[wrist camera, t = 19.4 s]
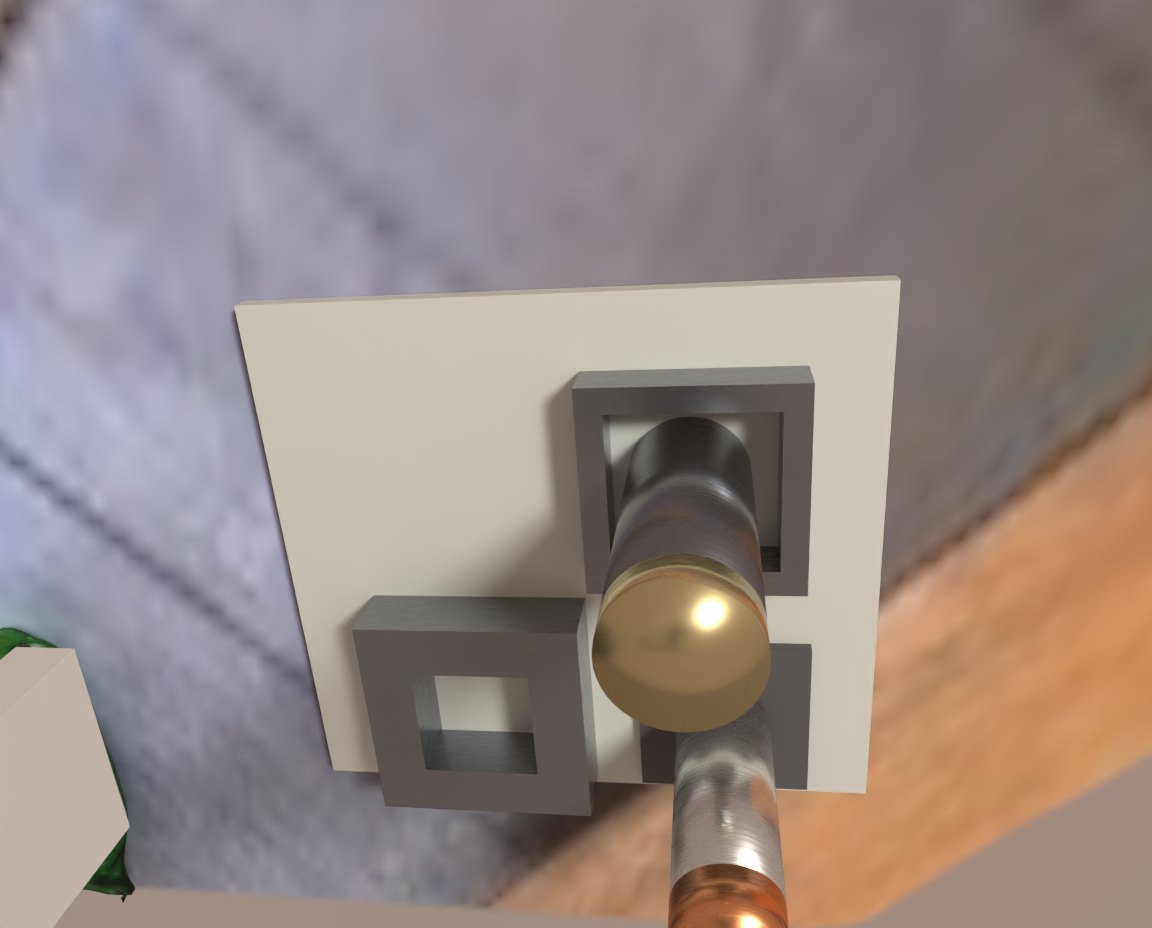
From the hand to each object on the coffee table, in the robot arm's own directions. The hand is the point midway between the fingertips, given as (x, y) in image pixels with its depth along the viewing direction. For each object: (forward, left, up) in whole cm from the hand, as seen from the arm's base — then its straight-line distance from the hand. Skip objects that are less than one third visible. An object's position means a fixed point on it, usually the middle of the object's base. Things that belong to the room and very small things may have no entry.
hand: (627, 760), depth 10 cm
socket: (0, -7, -24) cm, 25 cm away
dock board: (-5, -11, -25) cm, 27 cm away
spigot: (0, -7, -24) cm, 25 cm away
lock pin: (+1, -18, -23) cm, 29 cm away
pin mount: (-9, -17, -24) cm, 30 cm away
